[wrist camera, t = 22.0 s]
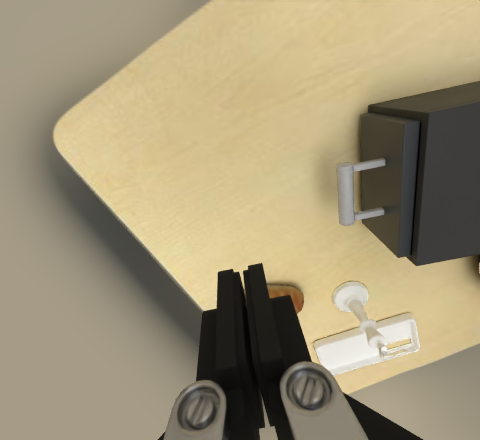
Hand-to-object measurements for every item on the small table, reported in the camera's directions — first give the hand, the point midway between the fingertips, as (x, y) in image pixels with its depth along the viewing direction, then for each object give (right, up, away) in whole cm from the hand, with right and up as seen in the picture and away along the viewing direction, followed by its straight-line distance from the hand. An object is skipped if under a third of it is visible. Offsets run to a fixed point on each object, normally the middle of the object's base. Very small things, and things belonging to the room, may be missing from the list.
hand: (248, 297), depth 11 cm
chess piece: (+15, -8, +29) cm, 34 cm away
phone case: (+19, -16, +33) cm, 42 cm away
